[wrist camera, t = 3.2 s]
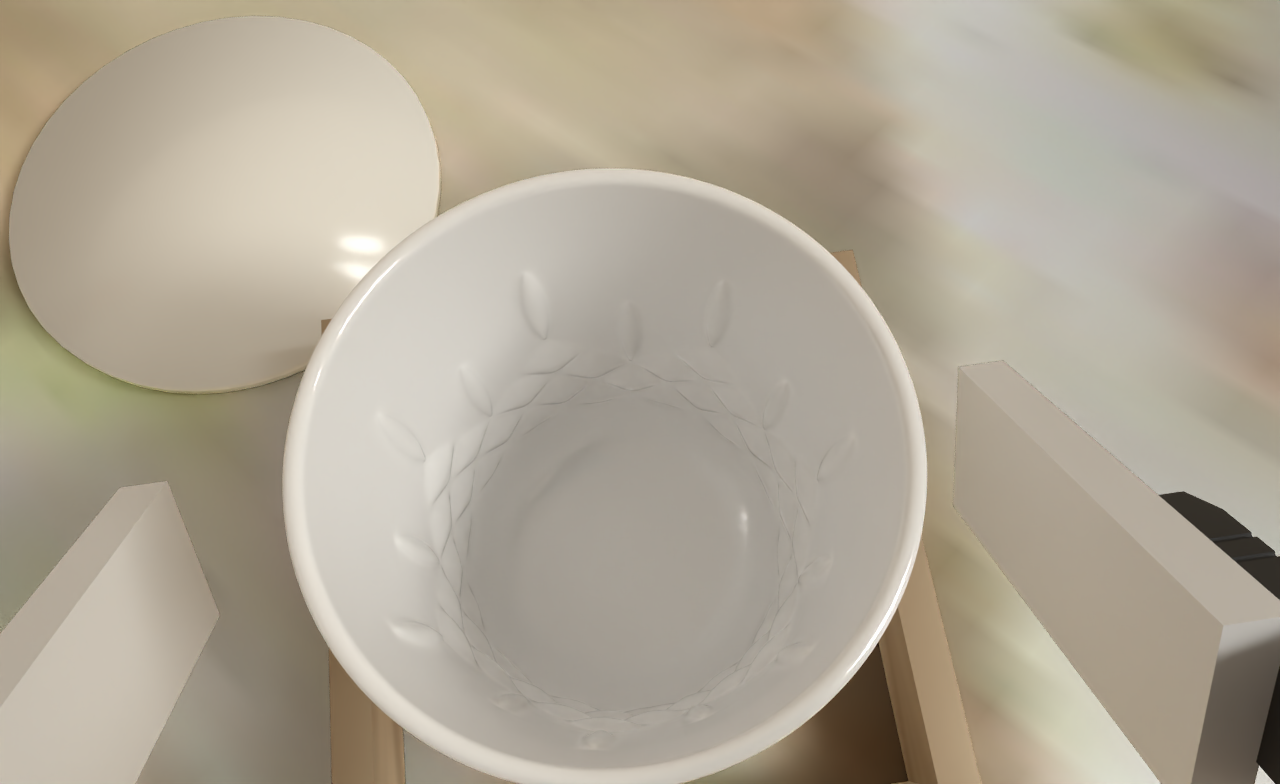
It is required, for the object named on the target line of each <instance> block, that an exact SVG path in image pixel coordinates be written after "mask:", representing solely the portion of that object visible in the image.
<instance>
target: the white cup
mask: <svg viewBox="0 0 1280 784" xmlns="http://www.w3.org/2000/svg"><path fill="white" fill-rule="evenodd" d="M926 496H927V455H926V443H925V435H924V428H923V422H922V417H921V412H920V408H919V403H918V399H917V396H916V392H915V389H914V385H913V382H912V379H911V376H910V373H909V371H908V368H907V365H906V363H905V360H904V358H903V356H902V353H901V351H900V349H899V347H898V345H897V343H896V341H895V339H894V337H893V335H892V333H891V331H890V329H889V327H888V326H887V324H886V322H885V320H884V319H883V317H882V315H881V314H880V312H879V311H878V309H877V308H876V306H875V305H874V303H873V302H872V300H871V299H870V298H869V296H868V295H867V294H866V292H865V291H864V290H863V288H862V287H861V286H860V285H859V283H858V282H857V281H856V280H855V279H854V278H853V276H852V275H851V274H850V273H849V272H848V271H847V270H846V269H845V268H844V267H843V265H842V264H841V263H840V262H839V261H838V260H837V259H836V258H835V257H834V256H832V255H831V254H830V253H829V252H828V251H827V250H826V249H825V248H824V247H823V246H821V245H820V244H819V243H818V242H817V241H816V240H814V239H813V238H812V237H811V236H809V235H808V234H807V233H805V232H804V231H803V230H801V229H800V228H798V227H797V226H796V225H794V224H793V223H791V222H790V221H788V220H787V219H785V218H784V217H782V216H780V215H779V214H777V213H775V212H774V211H772V210H770V209H768V208H766V207H765V206H763V205H761V204H759V203H757V202H755V201H753V200H751V199H749V198H746V197H744V196H742V195H740V194H737V193H735V192H733V191H730V190H727V189H725V188H722V187H719V186H716V185H713V184H710V183H707V182H704V181H700V180H697V179H693V178H689V177H685V176H680V175H676V174H671V173H665V172H658V171H651V170H642V169H628V168H593V169H579V170H570V171H562V172H556V173H550V174H545V175H540V176H536V177H532V178H528V179H524V180H520V181H517V182H513V183H510V184H507V185H504V186H501V187H498V188H495V189H493V190H490V191H487V192H485V193H483V194H480V195H478V196H475V197H473V198H471V199H469V200H467V201H465V202H463V203H461V204H459V205H457V206H455V207H453V208H451V209H449V210H447V211H446V212H444V213H442V214H440V215H439V216H437V217H435V218H434V219H432V220H431V221H429V222H428V223H426V224H424V225H423V226H422V227H420V228H419V229H417V230H416V231H414V232H413V233H412V234H410V235H409V236H408V237H406V238H405V239H404V240H403V241H401V242H400V243H399V244H398V245H396V246H395V247H394V248H393V249H392V250H391V251H390V252H388V253H387V254H386V255H385V256H384V257H383V258H382V259H381V260H380V261H379V262H378V263H377V264H376V265H375V266H374V267H373V268H372V269H371V270H370V271H369V272H368V273H367V274H366V275H365V276H364V277H363V278H362V280H361V281H360V282H359V283H358V284H357V285H356V287H355V288H354V289H353V290H352V291H351V293H350V294H349V295H348V296H347V298H346V299H345V300H344V302H343V303H342V305H341V306H340V307H339V309H338V310H337V312H336V313H335V315H334V316H333V318H332V319H331V321H330V322H329V324H328V326H327V327H326V329H325V331H324V333H323V334H322V336H321V338H320V340H319V342H318V344H317V345H316V347H315V349H314V351H313V354H312V356H311V358H310V360H309V362H308V365H307V367H306V369H305V372H304V374H303V377H302V379H301V382H300V385H299V388H298V391H297V394H296V397H295V401H294V404H293V408H292V411H291V416H290V420H289V425H288V429H287V435H286V441H285V449H284V458H283V472H282V500H283V514H284V523H285V531H286V537H287V543H288V548H289V552H290V556H291V561H292V564H293V568H294V571H295V575H296V578H297V581H298V584H299V587H300V590H301V592H302V595H303V597H304V600H305V602H306V605H307V607H308V609H309V612H310V614H311V616H312V618H313V620H314V622H315V624H316V626H317V628H318V630H319V631H320V633H321V635H322V637H323V638H324V640H325V642H326V644H327V645H328V647H329V648H330V650H331V651H332V653H333V655H334V656H335V657H336V659H337V660H338V662H339V663H340V665H341V666H342V667H343V669H344V670H345V671H346V673H347V674H348V675H349V676H350V678H351V679H352V680H353V681H354V682H355V684H356V685H357V686H358V687H359V688H360V689H361V690H362V691H363V693H364V694H365V695H366V696H367V697H368V698H369V699H370V700H371V701H372V702H373V703H374V704H375V705H376V706H377V707H378V708H379V709H380V710H382V711H383V712H384V713H385V714H386V715H387V716H388V717H390V718H391V719H392V720H393V721H394V722H396V723H397V724H398V725H399V726H401V727H402V728H403V729H405V730H406V731H407V732H409V733H410V734H411V735H413V736H414V737H416V738H417V739H419V740H420V741H422V742H423V743H425V744H426V745H428V746H430V747H431V748H433V749H435V750H436V751H438V752H440V753H442V754H443V755H445V756H447V757H449V758H451V759H453V760H455V761H457V762H459V763H461V764H463V765H466V766H468V767H470V768H473V769H475V770H478V771H480V772H483V773H485V774H488V775H491V776H494V777H497V778H500V779H503V780H507V781H510V782H514V783H518V784H681V783H685V782H689V781H692V780H696V779H699V778H702V777H705V776H708V775H711V774H714V773H716V772H719V771H722V770H724V769H727V768H729V767H731V766H734V765H736V764H738V763H740V762H742V761H744V760H747V759H749V758H750V757H752V756H754V755H756V754H758V753H760V752H762V751H764V750H765V749H767V748H769V747H770V746H772V745H774V744H775V743H777V742H779V741H780V740H782V739H783V738H785V737H786V736H788V735H789V734H791V733H792V732H793V731H795V730H796V729H797V728H799V727H800V726H801V725H803V724H804V723H805V722H807V721H808V720H809V719H810V718H811V717H813V716H814V715H815V714H816V713H817V712H819V711H820V710H821V709H822V708H823V707H824V706H825V705H826V704H827V703H828V702H829V701H830V700H831V699H832V698H833V697H835V696H836V694H837V693H838V692H839V691H840V690H841V689H842V688H843V687H844V686H845V685H846V684H847V683H848V682H849V680H850V679H851V678H852V677H853V676H854V675H855V673H856V672H857V671H858V670H859V668H860V667H861V666H862V664H863V663H864V662H865V661H866V659H867V658H868V656H869V655H870V654H871V652H872V651H873V649H874V648H875V646H876V645H877V643H878V642H879V640H880V638H881V637H882V635H883V634H884V632H885V630H886V628H887V627H888V625H889V623H890V621H891V619H892V617H893V615H894V613H895V611H896V609H897V607H898V605H899V603H900V601H901V598H902V596H903V594H904V591H905V589H906V586H907V584H908V581H909V578H910V575H911V572H912V569H913V566H914V563H915V559H916V556H917V552H918V548H919V544H920V539H921V534H922V529H923V523H924V516H925V508H926Z"/></svg>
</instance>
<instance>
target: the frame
mask: <svg viewBox="0 0 1280 784" xmlns="http://www.w3.org/2000/svg"><path fill="white" fill-rule="evenodd" d="M830 254H831V255H832V256H834V257H835V258H836V259H837V260H838V261H839V262H840V263H841V264H842V265H843V267H844V268H845V269H846V270H847V271H848V272H849V273H850V274H851V275H852V276H853V278H854V279H855V280H856V281H857V282H858V283H859V285H860V286H861V282H860V278H859V274H858V270H857V266H856V261H855V257H854V253H853V250H848V251H840V252H833V253H830ZM861 287H862V286H861ZM330 321H331V319H326V320H321V336H322V334H323V333H324V331H325V329H326V327H327V326H328V324H329V322H330ZM878 643H879V648H880V652H881V657H882V662H883V666H884V671H885V675H886V680H887V685H888V689H889V694H890V698H891V703H892V708H893V712H894V717H895V721H896V726H897V731H898V735H899V740H900V744H901V749H902V754H903V758H904V763H905V767H906V772H907V777H908V781H907V782H900V783H893V784H982V783H981V778H980V774H979V770H978V766H977V762H976V758H975V754H974V749H973V745H972V741H971V737H970V733H969V729H968V725H967V720H966V716H965V712H964V708H963V704H962V700H961V696H960V692H959V687H958V683H957V679H956V675H955V671H954V667H953V663H952V658H951V654H950V650H949V646H948V642H947V638H946V634H945V630H944V625H943V621H942V617H941V613H940V609H939V605H938V601H937V596H936V592H935V588H934V584H933V580H932V576H931V572H930V567H929V563H928V559H927V555H926V551H925V547H924V543H923V539H922V534H921V539H920V544H919V548H918V552H917V556H916V559H915V563H914V566H913V569H912V572H911V575H910V578H909V581H908V584H907V586H906V589H905V591H904V594H903V596H902V598H901V601H900V603H899V605H898V607H897V609H896V611H895V613H894V615H893V617H892V619H891V621H890V623H889V625H888V627H887V628H886V630H885V632H884V634H883V635H882V637H881V638H880V640H879V642H878ZM329 687H330V731H331V774H332V784H406V783H405V762H404V741H403V728H402V727H401V726H399V725H398V724H397V723H396V722H394V721H393V720H392V719H391V718H390V717H388V716H387V715H386V714H385V713H384V712H383V711H382V710H380V709H379V708H378V707H377V706H376V705H375V704H374V703H373V702H372V701H371V700H370V699H369V698H368V697H367V696H366V695H365V694H364V693H363V691H362V690H361V689H360V688H359V687H358V686H357V685H356V684H355V682H354V681H353V680H352V679H351V678H350V676H349V675H348V674H347V673H346V671H345V670H344V669H343V667H342V666H341V665H340V663H339V662H338V660H337V659H336V657H335V656H334V655H333V653H332V651H331V650H330V648H329Z"/></svg>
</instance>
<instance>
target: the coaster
mask: <svg viewBox="0 0 1280 784" xmlns="http://www.w3.org/2000/svg"><path fill="white" fill-rule="evenodd" d="M440 196H441V166H440V160H439V153H438V147H437V143H436V140H435V137H434V134H433V131H432V128H431V125H430V122H429V119H428V117H427V115H426V113H425V111H424V109H423V107H422V105H421V103H420V101H419V99H418V97H417V95H416V94H415V92H414V91H413V89H412V88H411V87H410V85H409V84H408V82H407V81H406V80H405V78H404V77H403V76H402V75H401V74H400V73H399V72H398V71H397V70H396V69H395V68H394V67H393V66H392V65H391V64H390V63H389V62H388V61H387V60H386V59H385V58H383V57H382V56H381V55H379V54H378V53H377V52H375V51H374V50H373V49H372V48H370V47H369V46H367V45H365V44H363V43H362V42H360V41H358V40H356V39H354V38H353V37H351V36H349V35H347V34H344V33H342V32H339V31H337V30H334V29H332V28H329V27H327V26H323V25H319V24H316V23H312V22H308V21H304V20H298V19H291V18H284V17H273V16H244V17H230V18H223V19H217V20H211V21H206V22H201V23H197V24H193V25H190V26H186V27H183V28H179V29H176V30H173V31H171V32H168V33H165V34H163V35H160V36H158V37H155V38H153V39H150V40H148V41H146V42H144V43H142V44H140V45H138V46H136V47H134V48H132V49H131V50H129V51H127V52H125V53H124V54H122V55H120V56H119V57H117V58H116V59H114V60H113V61H111V62H109V63H108V64H106V65H105V66H103V67H102V68H101V69H100V70H98V71H97V72H96V73H95V74H93V75H92V76H91V77H89V78H88V79H87V80H86V81H84V82H83V83H82V84H81V85H80V86H79V87H78V88H77V89H76V90H75V91H74V92H73V93H72V94H71V95H70V96H69V97H68V98H67V99H66V100H65V101H64V102H63V103H62V104H61V105H60V107H59V108H58V109H57V110H56V112H55V113H54V114H53V115H52V116H51V118H50V119H49V120H48V121H47V123H46V124H45V126H44V127H43V129H42V131H41V132H40V134H39V135H38V137H37V138H36V140H35V141H34V143H33V145H32V147H31V149H30V151H29V153H28V155H27V157H26V159H25V161H24V164H23V166H22V168H21V171H20V174H19V177H18V180H17V183H16V186H15V189H14V193H13V199H12V204H11V210H10V216H9V245H10V253H11V261H12V266H13V269H14V273H15V276H16V279H17V283H18V286H19V288H20V290H21V292H22V294H23V296H24V298H25V301H26V303H27V305H28V307H29V309H30V310H31V311H32V313H33V314H34V316H35V317H36V318H37V320H38V321H39V322H40V324H41V325H42V327H43V328H44V329H45V330H46V331H47V332H48V333H49V334H50V335H51V336H52V337H53V338H54V339H55V340H56V341H57V342H58V343H59V344H60V345H61V346H62V347H64V348H65V349H66V350H68V351H69V352H71V353H72V354H73V355H75V356H76V357H78V358H79V359H81V360H82V361H83V362H85V363H87V364H88V365H90V366H92V367H93V368H95V369H97V370H99V371H101V372H103V373H105V374H107V375H109V376H111V377H113V378H115V379H118V380H121V381H124V382H127V383H130V384H133V385H136V386H139V387H142V388H147V389H152V390H158V391H163V392H169V393H184V394H210V393H224V392H232V391H237V390H243V389H248V388H253V387H258V386H261V385H265V384H268V383H271V382H274V381H277V380H280V379H283V378H287V377H289V376H291V375H294V374H296V373H298V372H300V371H303V370H305V369H306V367H307V365H308V362H309V360H310V358H311V356H312V354H313V351H314V349H315V347H316V345H317V344H318V342H319V340H320V338H321V320H326V319H332V318H333V316H334V315H335V313H336V312H337V310H338V309H339V307H340V306H341V305H342V303H343V302H344V300H345V299H346V298H347V296H348V295H349V294H350V293H351V291H352V290H353V289H354V288H355V287H356V285H357V284H358V283H359V282H360V281H361V280H362V278H363V277H364V276H365V275H366V274H367V273H368V272H369V271H370V270H371V269H372V268H373V267H374V266H375V265H376V264H377V263H378V262H379V261H380V260H381V259H382V258H383V257H384V256H385V255H386V254H387V253H388V252H390V251H391V250H392V249H393V248H394V247H395V246H396V245H398V244H399V243H400V242H401V241H403V240H404V239H405V238H406V237H408V236H409V235H410V234H412V233H413V232H414V231H416V230H417V229H419V228H420V227H422V226H423V225H424V224H426V223H428V222H429V221H431V220H432V219H434V218H435V217H437V216H438V209H439V203H440Z"/></svg>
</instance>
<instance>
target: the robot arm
mask: <svg viewBox="0 0 1280 784" xmlns="http://www.w3.org/2000/svg"><path fill="white" fill-rule="evenodd" d="M953 507H954V508H955V509H956V511H957V512H958V513H959V515H960V516H961V517H962V519H963V520H964V521H965V523H966V524H967V525H968V527H969V528H970V529H971V531H972V532H973V533H974V535H975V536H976V537H977V539H978V540H979V541H980V543H981V544H982V545H983V547H984V548H985V549H986V551H987V552H988V553H989V555H990V556H991V557H992V559H993V560H994V561H995V563H996V564H997V565H998V567H999V568H1000V569H1001V571H1002V572H1003V573H1004V575H1005V576H1006V577H1007V579H1008V580H1009V581H1010V583H1011V584H1012V585H1013V587H1014V588H1015V589H1016V591H1017V592H1018V593H1019V595H1020V596H1021V597H1022V599H1023V600H1024V601H1025V603H1026V604H1027V605H1028V607H1029V608H1030V609H1031V611H1032V612H1033V613H1034V615H1035V616H1036V617H1037V619H1038V620H1039V621H1040V623H1041V624H1042V625H1043V627H1044V628H1045V629H1046V631H1047V632H1048V633H1049V635H1050V636H1051V637H1052V639H1053V640H1054V641H1055V643H1056V644H1057V645H1058V647H1059V648H1060V649H1061V651H1062V652H1063V653H1064V655H1065V656H1066V657H1067V659H1068V660H1069V661H1070V663H1071V664H1072V665H1073V667H1074V668H1075V669H1076V671H1077V672H1078V673H1079V675H1080V676H1081V677H1082V679H1083V680H1084V681H1085V683H1086V684H1087V685H1088V687H1089V688H1090V689H1091V691H1092V692H1093V693H1094V695H1095V696H1096V697H1097V699H1098V700H1099V701H1100V703H1101V704H1102V705H1103V707H1104V708H1105V709H1106V711H1107V712H1108V713H1109V715H1110V716H1111V717H1112V719H1113V720H1114V721H1115V723H1116V724H1117V725H1118V727H1119V728H1120V729H1121V731H1122V732H1123V733H1124V735H1125V736H1126V737H1127V739H1128V740H1129V741H1130V743H1131V744H1132V745H1133V747H1134V748H1135V749H1136V751H1137V752H1138V753H1139V755H1140V756H1141V757H1142V759H1143V760H1144V761H1145V763H1146V764H1147V765H1148V767H1149V768H1150V769H1151V771H1152V772H1153V773H1154V775H1155V776H1156V777H1157V779H1158V780H1159V781H1160V783H1161V784H1254V783H1255V779H1256V775H1257V771H1258V767H1259V766H1260V767H1261V768H1262V769H1263V770H1264V771H1265V773H1266V774H1267V775H1268V776H1269V777H1270V778H1271V779H1272V780H1273V782H1274V783H1275V784H1280V556H1279V557H1277V556H1276V555H1275V551H1274V550H1273V549H1271V548H1270V547H1269V546H1268V545H1266V544H1265V543H1264V542H1263V541H1261V540H1260V539H1259V538H1258V537H1252V535H1251V532H1250V531H1249V530H1248V529H1247V528H1245V527H1244V526H1243V525H1242V524H1240V523H1239V522H1238V521H1237V520H1235V519H1234V518H1233V517H1232V516H1230V515H1229V514H1228V513H1227V512H1225V511H1224V510H1223V509H1221V508H1219V507H1217V506H1214V505H1212V504H1210V503H1208V502H1206V501H1203V500H1201V499H1199V498H1197V497H1195V496H1192V495H1190V494H1188V493H1186V492H1184V491H1183V492H1176V493H1169V494H1163V495H1158V494H1157V493H1155V492H1154V491H1153V490H1152V489H1151V488H1150V487H1149V486H1147V485H1146V484H1145V483H1144V482H1143V481H1142V480H1140V479H1139V478H1138V477H1137V476H1136V475H1135V474H1134V473H1132V472H1131V471H1130V470H1129V469H1128V468H1127V467H1125V466H1124V465H1123V464H1122V463H1121V462H1120V461H1119V460H1117V459H1116V458H1115V457H1114V456H1113V455H1112V454H1110V453H1109V452H1108V451H1107V450H1106V449H1105V448H1104V447H1102V446H1101V445H1100V444H1099V443H1098V442H1097V441H1095V440H1094V439H1093V438H1092V437H1091V436H1090V435H1089V434H1087V433H1086V432H1085V431H1084V430H1083V429H1082V428H1080V427H1079V426H1078V425H1077V424H1076V423H1075V422H1074V421H1072V420H1071V419H1070V418H1069V417H1068V416H1067V415H1065V414H1064V413H1063V412H1062V411H1061V410H1060V409H1059V408H1057V407H1056V406H1055V405H1054V404H1053V403H1052V402H1050V401H1049V400H1048V399H1047V398H1046V397H1045V396H1044V395H1042V394H1041V393H1040V392H1039V391H1038V390H1037V389H1035V388H1034V387H1033V386H1032V385H1031V384H1030V383H1029V382H1027V381H1026V380H1025V379H1024V378H1023V377H1022V376H1020V375H1019V374H1018V373H1017V372H1016V371H1015V370H1014V369H1012V368H1011V367H1010V366H1009V365H1008V364H1007V363H1005V362H1004V361H1003V360H1002V361H995V362H988V363H981V364H974V365H967V366H961V367H958V387H957V412H956V437H955V462H954V487H953ZM219 617H220V613H219V611H218V608H217V606H216V603H215V601H214V598H213V596H212V593H211V590H210V588H209V585H208V583H207V580H206V578H205V575H204V573H203V570H202V568H201V565H200V562H199V560H198V557H197V555H196V552H195V550H194V547H193V545H192V542H191V540H190V537H189V534H188V532H187V529H186V527H185V524H184V522H183V519H182V517H181V514H180V512H179V509H178V506H177V504H176V501H175V499H174V496H173V494H172V491H171V489H170V486H169V483H168V481H162V482H155V483H148V484H141V485H134V486H127V487H120V488H119V489H118V490H117V492H116V493H115V494H114V495H113V496H112V498H111V499H110V500H109V501H108V503H107V504H106V505H105V506H104V507H103V509H102V510H101V511H100V512H99V514H98V515H97V516H96V517H95V518H94V520H93V521H92V522H91V523H90V525H89V526H88V527H87V528H86V529H85V531H84V532H83V533H82V534H81V536H80V537H79V538H78V539H77V540H76V542H75V543H74V544H73V545H72V547H71V548H70V549H69V550H68V551H67V553H66V554H65V555H64V556H63V558H62V559H61V560H60V561H59V562H58V564H57V565H56V566H55V567H54V569H53V570H52V571H51V572H50V573H49V575H48V576H47V577H46V578H45V580H44V581H43V582H42V583H41V584H40V586H39V587H38V588H37V589H36V590H35V592H34V593H33V594H32V595H31V597H30V598H29V599H28V600H27V601H26V603H25V604H24V605H23V606H22V608H21V609H20V610H19V611H18V612H17V614H16V615H15V616H14V617H13V619H12V620H11V621H10V622H9V623H8V625H7V626H6V627H5V628H4V630H3V631H2V632H1V633H0V784H136V782H137V780H138V778H139V776H140V774H141V772H142V770H143V768H144V766H145V764H146V762H147V760H148V758H149V756H150V754H151V752H152V750H153V748H154V746H155V744H156V742H157V740H158V738H159V736H160V734H161V732H162V730H163V728H164V726H165V724H166V722H167V720H168V718H169V716H170V714H171V712H172V710H173V708H174V706H175V704H176V702H177V700H178V698H179V696H180V694H181V692H182V690H183V688H184V686H185V684H186V682H187V680H188V678H189V676H190V674H191V672H192V670H193V668H194V666H195V664H196V662H197V660H198V658H199V656H200V654H201V652H202V650H203V648H204V646H205V644H206V642H207V640H208V638H209V636H210V634H211V632H212V630H213V628H214V626H215V624H216V622H217V621H218V619H219Z"/></svg>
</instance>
